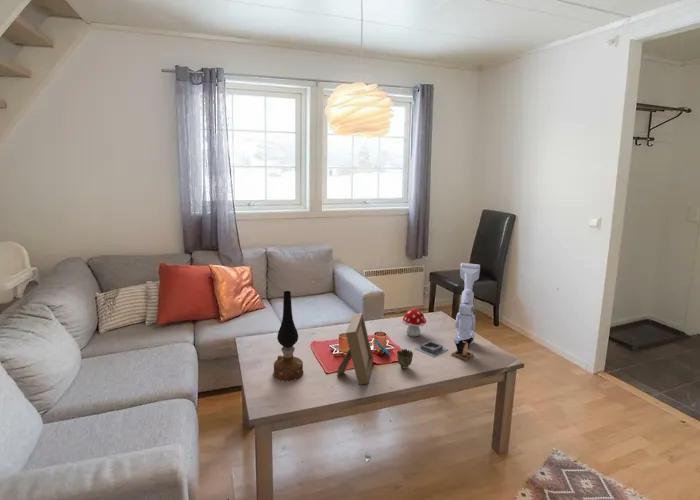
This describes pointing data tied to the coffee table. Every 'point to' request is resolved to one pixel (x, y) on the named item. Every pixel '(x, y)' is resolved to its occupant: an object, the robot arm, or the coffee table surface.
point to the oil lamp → (287, 345)
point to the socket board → (431, 348)
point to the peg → (464, 350)
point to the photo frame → (358, 350)
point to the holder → (469, 356)
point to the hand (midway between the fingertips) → (462, 352)
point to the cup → (404, 358)
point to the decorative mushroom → (414, 321)
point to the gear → (382, 348)
